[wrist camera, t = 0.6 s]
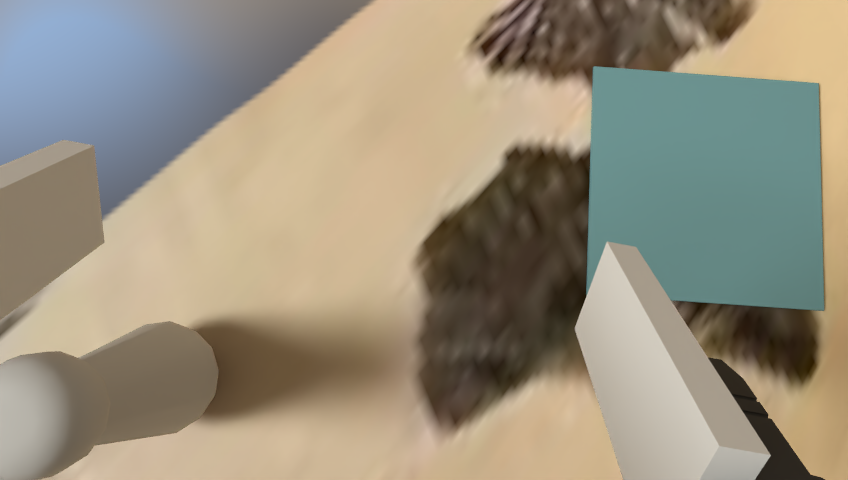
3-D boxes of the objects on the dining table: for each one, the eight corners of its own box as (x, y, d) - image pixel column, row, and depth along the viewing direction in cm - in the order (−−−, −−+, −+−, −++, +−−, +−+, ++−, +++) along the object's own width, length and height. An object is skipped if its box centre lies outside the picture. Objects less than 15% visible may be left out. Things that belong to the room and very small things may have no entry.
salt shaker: (117, 340, 31) (-99, 364, 18) (214, 306, 31) (72, 306, 18) (145, 440, 30) (-58, 542, 17) (244, 405, 30) (119, 478, 17)
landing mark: (821, 310, 32) (824, 310, 31) (586, 294, 31) (587, 294, 31) (816, 84, 33) (818, 83, 33) (593, 67, 33) (594, 66, 33)
